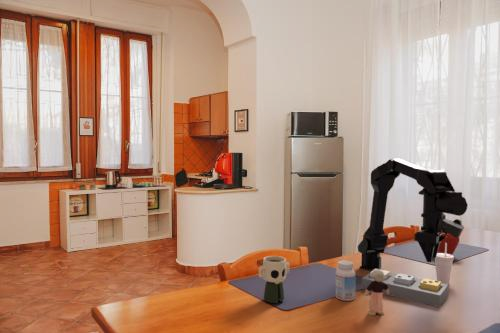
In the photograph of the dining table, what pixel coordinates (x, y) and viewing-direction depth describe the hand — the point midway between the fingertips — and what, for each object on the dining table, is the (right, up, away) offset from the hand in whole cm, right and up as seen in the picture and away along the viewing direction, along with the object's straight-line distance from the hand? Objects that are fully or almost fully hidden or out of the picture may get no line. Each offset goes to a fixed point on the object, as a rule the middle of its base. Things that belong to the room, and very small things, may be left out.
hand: (431, 259), depth 124 cm
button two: (-6, -9, +5) cm, 12 cm away
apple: (+28, -10, +48) cm, 57 cm away
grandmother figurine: (-21, -13, -11) cm, 27 cm away
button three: (0, -10, 0) cm, 10 cm away
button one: (-13, -9, +10) cm, 19 cm away
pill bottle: (-27, -12, 0) cm, 30 cm away
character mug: (-50, -12, -3) cm, 51 cm away
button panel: (-6, -12, +6) cm, 14 cm away
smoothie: (+11, -12, +15) cm, 22 cm away
